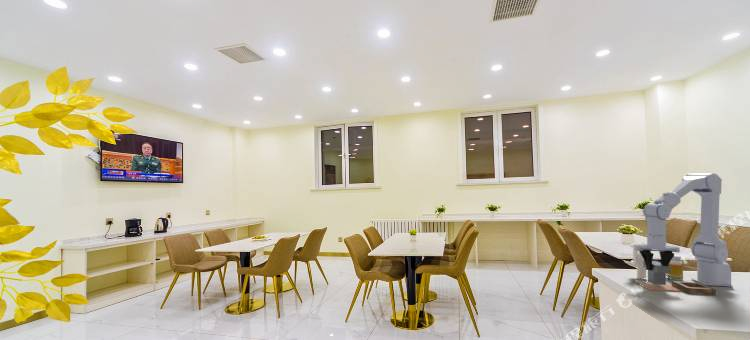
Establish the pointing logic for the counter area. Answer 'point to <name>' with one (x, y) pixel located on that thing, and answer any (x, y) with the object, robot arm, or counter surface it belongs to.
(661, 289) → the terracotta coaster
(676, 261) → the supplement bottle
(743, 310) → the counter surface
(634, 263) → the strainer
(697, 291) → the walnut holder
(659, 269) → the dark grey block
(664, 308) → the counter surface
